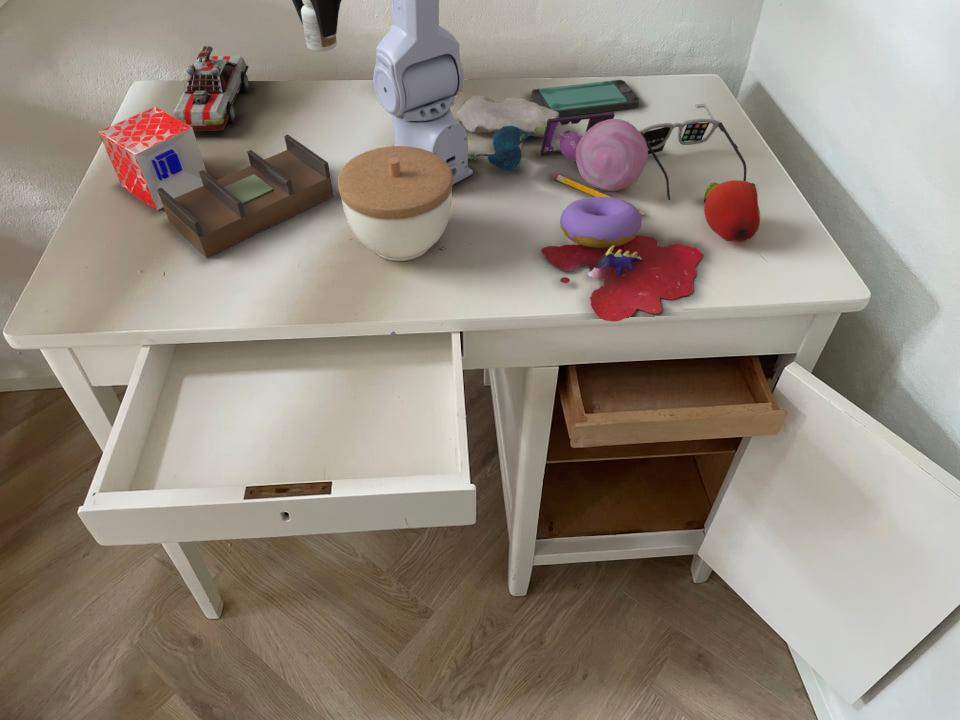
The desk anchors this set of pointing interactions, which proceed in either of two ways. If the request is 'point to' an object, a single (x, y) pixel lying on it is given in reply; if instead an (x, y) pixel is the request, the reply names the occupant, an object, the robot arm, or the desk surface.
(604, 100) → the smartphone
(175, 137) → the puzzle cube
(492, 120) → the stone
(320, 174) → the divided wooden tray
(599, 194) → the pencil
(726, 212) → the apple
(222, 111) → the toy car
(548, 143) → the purple rectangular frame
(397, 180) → the lidded bowl
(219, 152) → the desk surface
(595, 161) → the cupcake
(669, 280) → the red splat with dinosaur
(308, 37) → the pill bottle
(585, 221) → the donut
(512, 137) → the blue flowers
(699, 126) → the smart glasses
